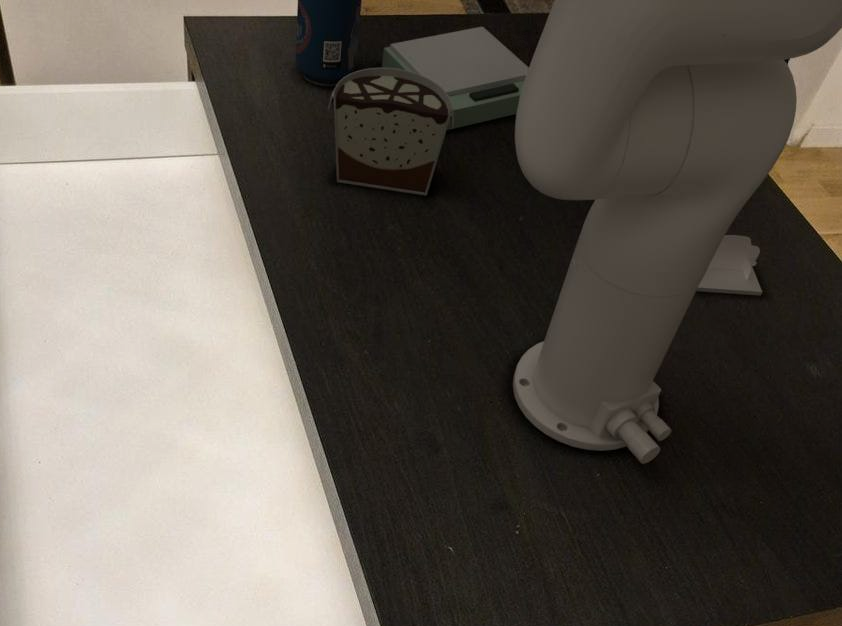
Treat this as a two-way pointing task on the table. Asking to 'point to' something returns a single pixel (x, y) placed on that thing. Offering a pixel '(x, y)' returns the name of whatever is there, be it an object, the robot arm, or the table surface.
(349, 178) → the food container
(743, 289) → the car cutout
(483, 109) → the scale
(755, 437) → the table surface
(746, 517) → the table surface
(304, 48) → the soda can
